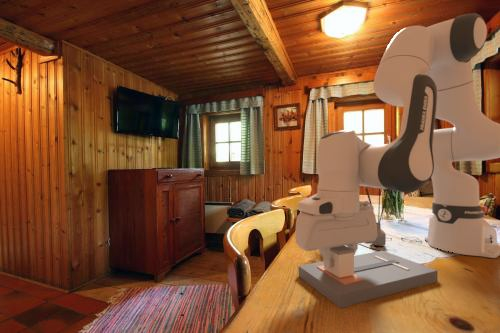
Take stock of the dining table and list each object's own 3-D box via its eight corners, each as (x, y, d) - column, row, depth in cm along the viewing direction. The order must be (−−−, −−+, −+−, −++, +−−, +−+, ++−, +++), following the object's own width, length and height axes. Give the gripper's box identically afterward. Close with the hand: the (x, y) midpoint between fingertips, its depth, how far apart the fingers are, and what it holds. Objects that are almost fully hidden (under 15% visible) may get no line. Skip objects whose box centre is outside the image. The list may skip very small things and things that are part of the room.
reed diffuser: (395, 248, 75) (394, 186, 75) (379, 251, 72) (378, 187, 73) (368, 240, 84) (368, 184, 85) (354, 242, 82) (353, 185, 82)
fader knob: (337, 265, 55) (337, 242, 55) (354, 274, 50) (354, 249, 50) (323, 268, 53) (323, 244, 54) (339, 278, 49) (339, 252, 49)
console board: (383, 259, 66) (382, 249, 66) (437, 281, 53) (437, 269, 53) (298, 276, 56) (298, 264, 56) (340, 308, 43) (339, 293, 43)
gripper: (361, 198, 59) (362, 253, 58) (291, 203, 51) (291, 266, 51) (384, 201, 53) (385, 263, 53) (308, 207, 45) (308, 278, 45)
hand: (338, 264), depth 52 cm, fingers closed on fader knob, 4 cm apart
